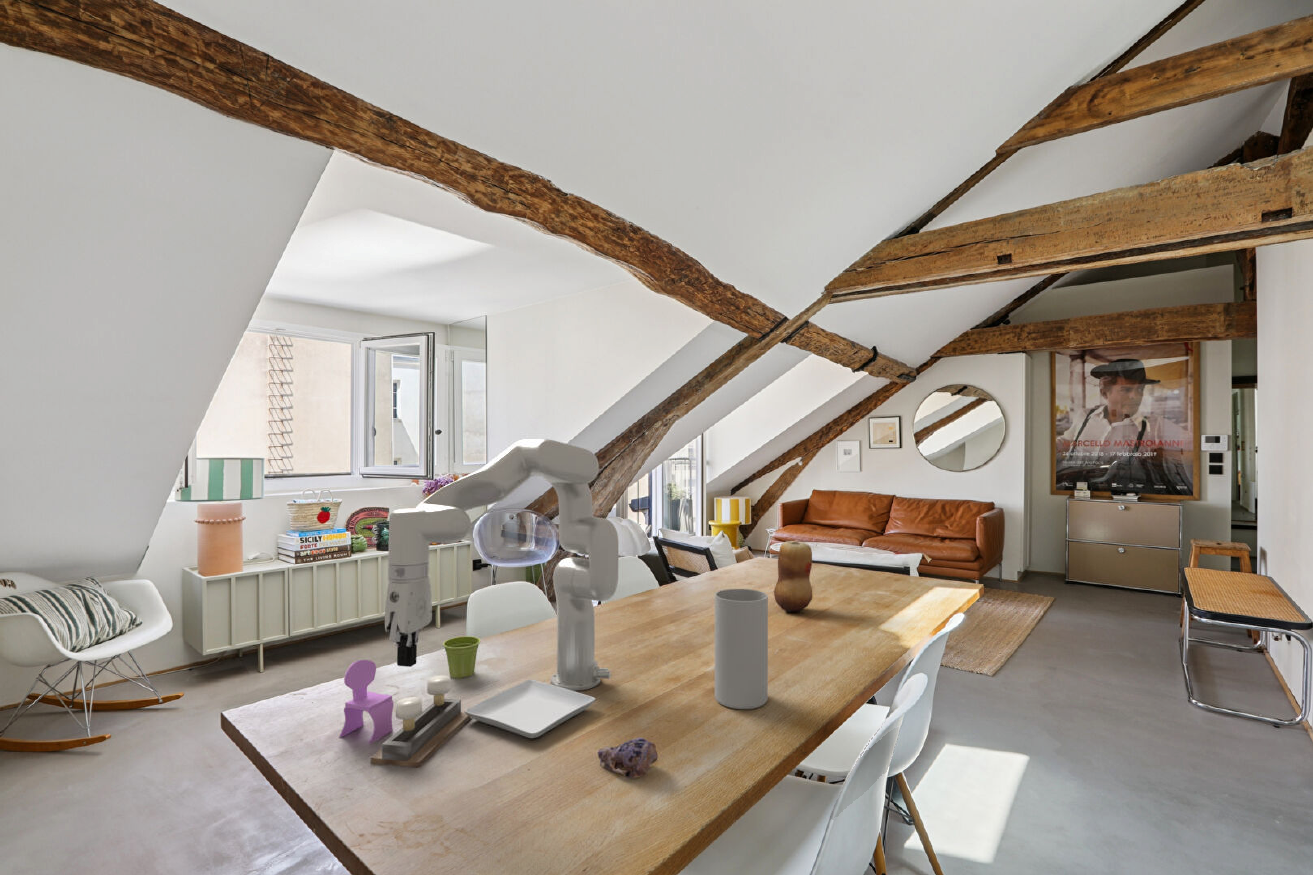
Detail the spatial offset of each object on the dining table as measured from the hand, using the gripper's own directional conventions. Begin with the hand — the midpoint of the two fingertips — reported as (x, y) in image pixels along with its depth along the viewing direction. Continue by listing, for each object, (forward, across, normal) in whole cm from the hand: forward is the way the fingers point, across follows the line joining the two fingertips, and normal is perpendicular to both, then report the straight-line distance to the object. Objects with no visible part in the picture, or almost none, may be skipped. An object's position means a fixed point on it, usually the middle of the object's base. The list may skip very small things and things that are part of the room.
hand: (406, 664), depth 127 cm
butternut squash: (+15, +120, -80) cm, 145 cm away
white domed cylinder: (+13, +1, 0) cm, 13 cm away
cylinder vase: (+16, +38, -64) cm, 76 cm away
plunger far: (+13, +13, 0) cm, 18 cm away
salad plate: (+18, +21, -18) cm, 33 cm away
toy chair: (+18, +7, +13) cm, 23 cm away
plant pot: (+17, +42, +9) cm, 46 cm away
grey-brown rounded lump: (+18, +2, -44) cm, 48 cm away
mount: (+17, +7, 0) cm, 19 cm away
